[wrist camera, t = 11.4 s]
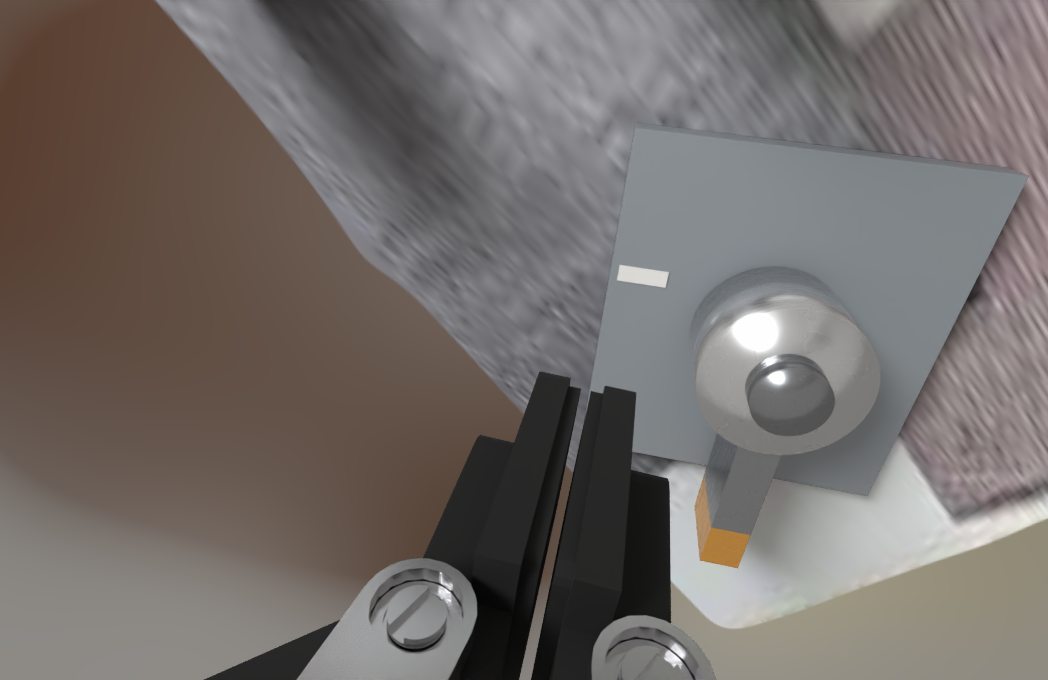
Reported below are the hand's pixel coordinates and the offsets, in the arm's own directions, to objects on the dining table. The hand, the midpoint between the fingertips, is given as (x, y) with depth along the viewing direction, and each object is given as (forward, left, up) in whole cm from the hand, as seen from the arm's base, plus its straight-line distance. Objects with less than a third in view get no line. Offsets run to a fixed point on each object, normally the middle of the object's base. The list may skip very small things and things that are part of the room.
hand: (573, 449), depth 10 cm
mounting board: (-10, +9, -28) cm, 31 cm away
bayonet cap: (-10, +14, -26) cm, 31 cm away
